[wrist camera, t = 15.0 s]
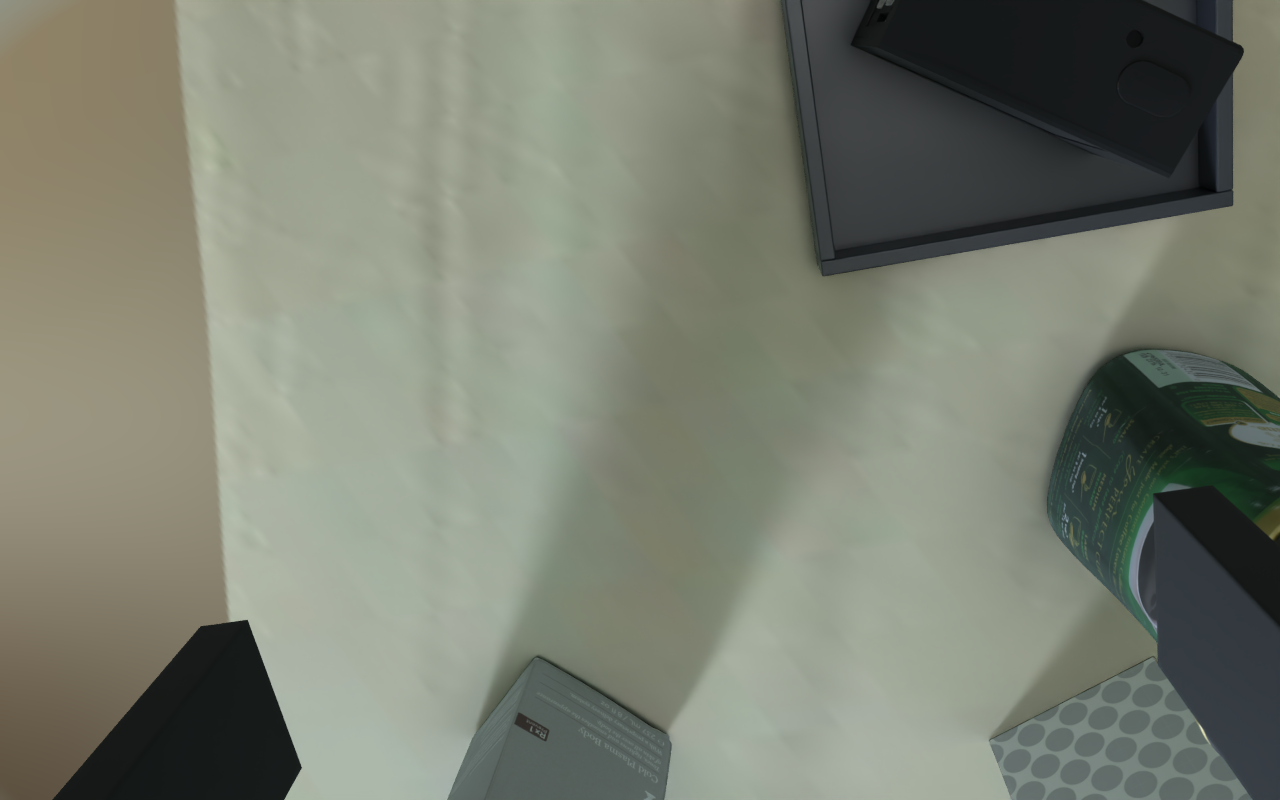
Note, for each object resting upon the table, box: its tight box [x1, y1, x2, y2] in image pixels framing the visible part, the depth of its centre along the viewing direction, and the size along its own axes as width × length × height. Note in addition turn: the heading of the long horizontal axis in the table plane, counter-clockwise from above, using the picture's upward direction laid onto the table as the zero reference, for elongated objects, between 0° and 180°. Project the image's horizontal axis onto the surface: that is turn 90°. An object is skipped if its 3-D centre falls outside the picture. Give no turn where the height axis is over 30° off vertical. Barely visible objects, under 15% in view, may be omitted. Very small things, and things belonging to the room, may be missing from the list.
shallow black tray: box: [781, 0, 1233, 276], centre depth 37 cm, size 15×15×2 cm
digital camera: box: [851, 0, 1244, 178], centre depth 34 cm, size 10×5×7 cm, turn 67°
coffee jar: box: [1047, 349, 1280, 759], centre depth 35 cm, size 10×8×19 cm
